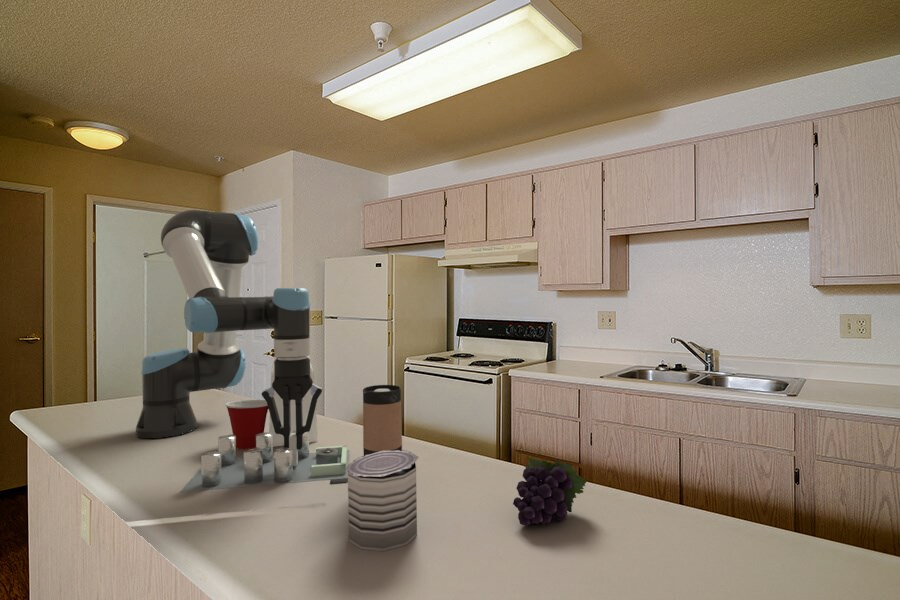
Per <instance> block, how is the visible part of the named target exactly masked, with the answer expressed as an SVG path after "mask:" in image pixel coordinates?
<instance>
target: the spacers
mask: <svg viewBox="0 0 900 600" xmlns="http://www.w3.org/2000/svg"><path fill="white" fill-rule="evenodd" d="M293 433H296V430H295V431H293ZM217 439H218V440H217V441H218V444H217V445H218V446H217V447H218V450H217V451H213V450H212V451H208V452H204V453H202V454H201V456H200V457H201V459H200V463H201V465H200V466H201V468H200V469H201V473H202V487H214V486H217V485H220V484H221V483H222V475H221V466H230V465H233V464H235V463H236V459H237V448H236V436H235V435H233V434H225V435H221V436H218V438H217ZM309 453H310V442H309V432H305V433H304V434H303V446H302V449H298V459H304V458H307V457H309ZM273 456H274V482H276V483H284V484H287V483H286V482H289V481H291V480H292V479H293V462H292V449H291V448H284V447H281V448H277V449H275V450H274V446H273V433H270V432H269V431H267V432H265V431H264V433H259V434H257V435H256V448H253V449H245V450H244V451H243V458H244V483H246V484H254V483H258V482H261V481H262V480H263V463H268V462H271V461H273Z"/></svg>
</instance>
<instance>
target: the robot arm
mask: <svg viewBox="0 0 900 600" xmlns="http://www.w3.org/2000/svg"><path fill="white" fill-rule="evenodd" d="M160 244H161V246H162V248H163V251H164V253H165V254H166V255H167V257H170V258H171V259H172V261H173V263H174V265H175V268H176V271H177V273H178V276H179V278H180V280H181V283H182V285H183V287H184V289H185V292H186V295H187V297H188V299H187V300H186V301H185V303H184V309H183V316H184V324H185V327H186V329H187V331H189V332H191V333H196V334H197V333H204V335H203V340H202V341H201V342H199V343H198V345H197V350H196V351H194V352H190V350H189V349H188V348H187V347H186V348H185V347H183V348H174V349H173V348H172V349H166V350H165V349H164V350H161V351H157V352H156V351H155V352H152V353H150V354H148V355H146V356H144V357H143V359H142V362H141V364H142V365H141V373H140V374H141V377H142V381H141V382H142V383H141V384H142V386H141V387H142V408H141V412H140V415H139V417H138V421H137V422H136V423H137V424H136V426H135V427H136V428H135V436H136V437H137V438H139V437H140V439H145V438H155V439H163V438H162V437H166V438H169V437H168V436H172V437H175V436H174V435H177V436H180V435H179V434H182V433H185V434H187V433H186V432H188V433H190V432H189V431H191V430H193V429H195V428H196V427H197V424H198V423H197V421H198V420H197V418H196V415H195V412H194V410H193V407H192V405H191V402H190V393H194V392H201V391H209V390H215V389H216V390H217V389H226V388H229V387H234V386H237V385H238V384H239V383H241V381H242V380H243V378H244V376H245V370H246V363H247V362H246V354H245V352H244V351H243V349H242V348H241V346H240V344H238V342H237V341H236V337H237V336H236V335H237V332H239V331H258V330H273V357H274V358H275V357H277V359H276V360H275V361H274V360H273V362H274V381H273V383H272V386H271V385H270V387H268V388H265V389H264V390H263V391H262V392H261V397H262V398H263V400H266V402H267V405H268V412H269V417H270V416H271V420H272V423H273V427H274V431H275V433H276V434H281V435H283V436H284V445H283V448H291V449H292V462H293V466H297V463H298V449H302V446H303V434H304V433H305V432H309V431H310V428H311V425H312V420H313V416H314V412H315V408H316V409H317V402H318V399H319V397H320V396H321V394H322V393H323V387H322V386H318V385H316V384H315V383H314V384H315V385H314V384H313V381H312V379H311V377H310V361H311V358H310V355H311V354H310V353H311V345H310V344H311V338H310V327H311V325H310V322H311V321H310V319H311V318H310V311H311V310H310V309H311V303H310V295H309V294H310V293H309V291H308V289H307V288H304V287H278V288H275V289H274V290H273V294H272V295H273V296H272V295H271V296H252V297H251V296H247V297H246V296H245V297H242V296H241V297H240V295H241V294H240V293H241V285H242V283H241V282H242V273H243V272H242V271H243V267H245V266H246V265H247V264H249V258H250V256H254V255H256V253H257V250H258V249H259V235H258V230H257V228H256V224H255V223H254V221H253V219H252V218H251V217H250V216H248V215H245V214H240V213H239V214H238V213H235V212H225V211H224V212H222V211H211V210H201V209H187V210H183V211H181V212H178V213H176V214H175V215H173V216H172V217H170V218H169V219H168V220H167V221H166V223H165V224H164V226H163V228H162V229H161V233H160ZM307 356H309V358H310V359H309V358H308V357H307ZM310 388H311V395H313V397H312V400H311V404H310V408H309V412H308V416H307V421H306V425H305V426H303V411H302V401H303V397H304V396H305V395H306V393H307V392H308V391H309V389H310ZM274 390H275V391H276V393H277V394H278V395H279V396H280V397H281V399H283V427H282V425H281V422H280V418H279V414H278V411H277V407H276V403H275V400H274V397H273V396H274V395H275V393H274ZM291 400H295V405H296V433H291V434H290V431H291V413H290V402H291ZM197 428H198V427H197ZM197 428H196V429H197ZM196 429H195V430H196ZM193 431H194V430H193ZM191 432H192V431H191ZM182 435H183V434H182Z"/></svg>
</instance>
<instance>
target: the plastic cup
mask: <svg viewBox="0 0 900 600" xmlns="http://www.w3.org/2000/svg"><path fill="white" fill-rule="evenodd" d="M224 405H225V407H226V409H227V413H228V417H229V421H230V422H229V423H230V427H231V433H232V435H235V436H236V450H244V451H246V450H249V449H256V435H257V434H259V433H265V427H266V421H267V415H268V412H269V409H268V405H267V402H266V400H265V399H243V400H241V399H240V400H235V401H229V402H225V404H224Z"/></svg>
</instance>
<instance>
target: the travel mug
mask: <svg viewBox="0 0 900 600" xmlns="http://www.w3.org/2000/svg"><path fill="white" fill-rule="evenodd" d="M362 416H363V417H362V418H363V419H362V421H363V422H362V426H363V427H362V429H363V430H362V433H363V434H362V436H363V437H362V439H363V440H362V443H363V445H362V446H363V447H362V449H363V456H365V455H369V454H372V453H376V452H380V451H396V450H403V432H402V429H403V428H402V425H403V424H402V423H403V422H402V388H401V387H400V386H398V385H394V384H378V385H377V384H376V385H375V384H374V385H369V386H366V387H364V388H363V389H362Z"/></svg>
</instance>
